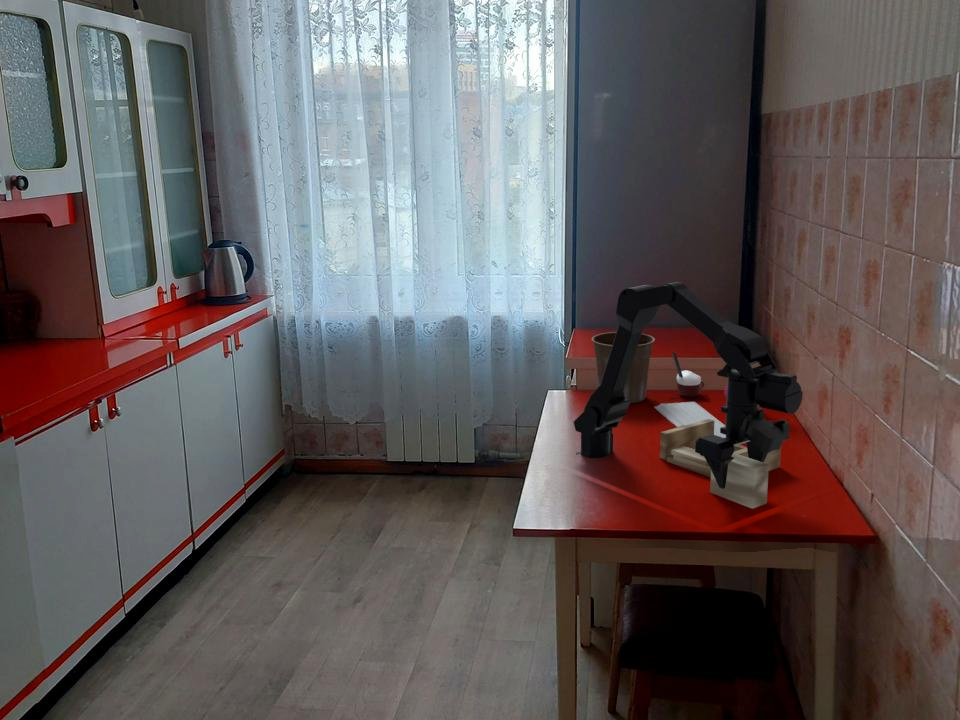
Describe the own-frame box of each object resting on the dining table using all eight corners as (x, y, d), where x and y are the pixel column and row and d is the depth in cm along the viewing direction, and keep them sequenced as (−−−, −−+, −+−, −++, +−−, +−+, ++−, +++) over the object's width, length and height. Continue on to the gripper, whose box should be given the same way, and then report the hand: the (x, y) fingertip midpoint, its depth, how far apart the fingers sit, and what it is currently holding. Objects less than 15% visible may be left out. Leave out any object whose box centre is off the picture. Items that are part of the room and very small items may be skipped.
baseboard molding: (691, 450, 204) (743, 446, 206) (692, 437, 203) (744, 434, 205) (648, 410, 234) (694, 407, 235) (649, 399, 233) (694, 396, 235)
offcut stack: (718, 480, 182) (718, 466, 181) (666, 461, 193) (666, 448, 192) (732, 476, 184) (733, 461, 183) (680, 457, 195) (680, 444, 195)
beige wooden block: (752, 510, 168) (754, 469, 166) (710, 494, 176) (711, 454, 174) (766, 505, 170) (768, 464, 169) (724, 489, 178) (725, 450, 177)
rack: (730, 487, 180) (732, 456, 179) (659, 461, 196) (660, 432, 194) (779, 470, 189) (781, 440, 187) (708, 446, 204) (709, 418, 202)
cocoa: (702, 393, 247) (705, 349, 244) (706, 399, 241) (709, 354, 238) (666, 392, 247) (669, 348, 245) (669, 398, 241) (672, 353, 239)
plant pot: (638, 410, 232) (639, 347, 228) (580, 401, 241) (581, 341, 237) (662, 394, 246) (664, 335, 242) (607, 386, 254) (607, 329, 250)
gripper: (744, 422, 157) (739, 508, 161) (811, 403, 168) (806, 483, 171) (694, 407, 166) (691, 489, 170) (761, 390, 177) (757, 467, 180)
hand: (738, 482), depth 173 cm, fingers open, 9 cm apart
